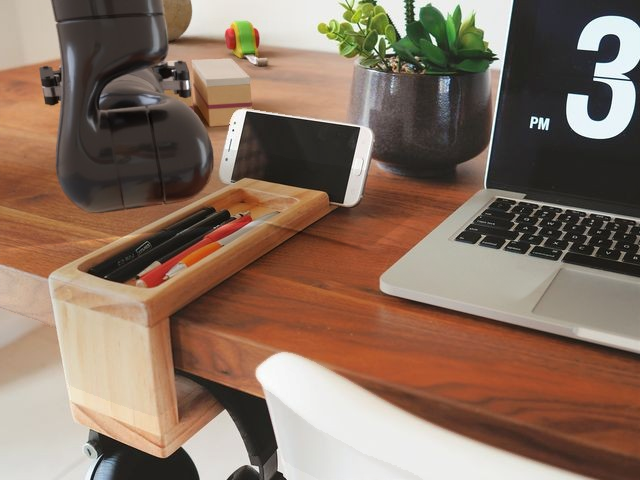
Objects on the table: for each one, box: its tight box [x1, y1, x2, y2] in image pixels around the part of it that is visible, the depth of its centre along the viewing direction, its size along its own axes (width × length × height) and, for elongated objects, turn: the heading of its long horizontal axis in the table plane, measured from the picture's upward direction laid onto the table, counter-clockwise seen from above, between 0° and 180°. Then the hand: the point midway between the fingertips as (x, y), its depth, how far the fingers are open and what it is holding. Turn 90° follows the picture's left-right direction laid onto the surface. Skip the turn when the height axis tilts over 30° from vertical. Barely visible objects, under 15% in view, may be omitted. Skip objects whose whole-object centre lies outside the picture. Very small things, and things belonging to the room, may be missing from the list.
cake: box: [164, 57, 253, 128], centre depth 104 cm, size 14×14×6 cm
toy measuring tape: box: [224, 20, 269, 67], centre depth 144 cm, size 6×19×7 cm, turn 24°
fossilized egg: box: [162, 0, 193, 42], centre depth 157 cm, size 13×13×15 cm
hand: (113, 67), depth 78 cm, fingers open, 8 cm apart
